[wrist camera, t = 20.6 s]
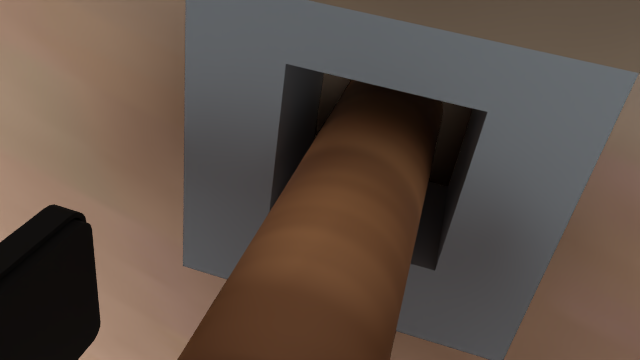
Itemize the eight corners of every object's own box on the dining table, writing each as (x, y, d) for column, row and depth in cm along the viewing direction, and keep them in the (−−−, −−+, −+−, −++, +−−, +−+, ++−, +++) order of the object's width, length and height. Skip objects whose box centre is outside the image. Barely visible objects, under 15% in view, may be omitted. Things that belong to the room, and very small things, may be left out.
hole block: (502, 266, 20) (501, 362, 16) (238, 192, 22) (183, 266, 18) (622, -24, 15) (661, 24, 11) (258, -95, 16) (186, -75, 13)
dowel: (429, 164, 19) (347, 523, 9) (336, 140, 19) (162, 456, 10) (454, 74, 17) (389, 397, 7) (352, 50, 18) (160, 324, 8)
